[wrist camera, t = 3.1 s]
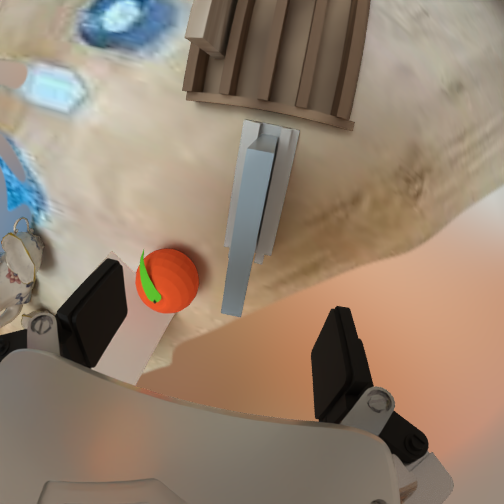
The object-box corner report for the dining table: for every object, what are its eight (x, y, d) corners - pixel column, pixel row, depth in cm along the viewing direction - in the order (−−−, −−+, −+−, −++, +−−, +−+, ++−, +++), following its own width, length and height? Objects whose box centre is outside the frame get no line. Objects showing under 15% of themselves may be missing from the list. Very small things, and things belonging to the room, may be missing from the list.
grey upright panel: (277, 136, 23) (274, 153, 13) (255, 244, 28) (240, 317, 18) (262, 133, 23) (246, 148, 13) (242, 241, 28) (220, 313, 18)
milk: (135, 341, 39) (69, 479, 17) (81, 293, 36) (-10, 421, 13) (176, 310, 35) (98, 496, 12) (112, 250, 31) (-19, 415, 9)
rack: (370, -13, 14) (400, -50, 6) (345, 129, 22) (375, 138, 14) (227, -38, 14) (205, -82, 6) (195, 101, 22) (155, 98, 14)
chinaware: (76, 337, 45) (44, 401, 31) (21, 312, 43) (-14, 364, 29) (54, 211, 31) (-20, 276, 17) (-7, 196, 29) (-70, 243, 15)
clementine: (137, 238, 30) (106, 270, 24) (186, 221, 28) (161, 254, 22) (166, 292, 33) (145, 331, 27) (215, 282, 32) (199, 324, 26)
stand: (299, 130, 23) (301, 131, 20) (271, 253, 29) (270, 266, 27) (245, 119, 23) (240, 120, 20) (225, 243, 29) (220, 255, 27)
